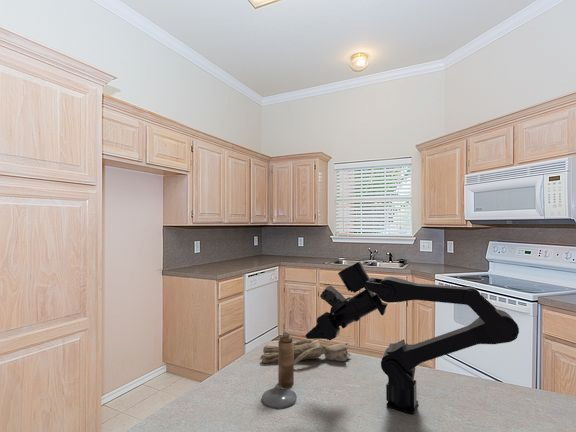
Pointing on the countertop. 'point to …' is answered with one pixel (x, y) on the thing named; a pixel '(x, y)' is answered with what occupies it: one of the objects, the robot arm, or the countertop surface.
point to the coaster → (279, 397)
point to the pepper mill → (286, 360)
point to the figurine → (308, 351)
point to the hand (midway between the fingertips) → (312, 331)
